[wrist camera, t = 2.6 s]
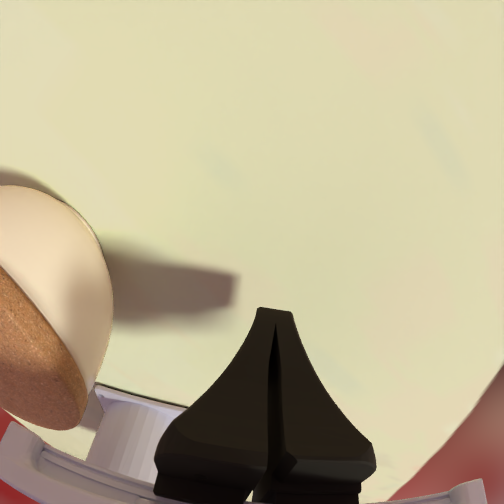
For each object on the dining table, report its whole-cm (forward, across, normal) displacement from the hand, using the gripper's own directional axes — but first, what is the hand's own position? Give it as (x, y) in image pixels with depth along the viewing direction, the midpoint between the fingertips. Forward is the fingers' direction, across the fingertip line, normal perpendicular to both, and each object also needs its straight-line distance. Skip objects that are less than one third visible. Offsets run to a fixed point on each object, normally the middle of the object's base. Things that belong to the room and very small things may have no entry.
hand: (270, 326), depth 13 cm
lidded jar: (+3, +12, 0) cm, 12 cm away
